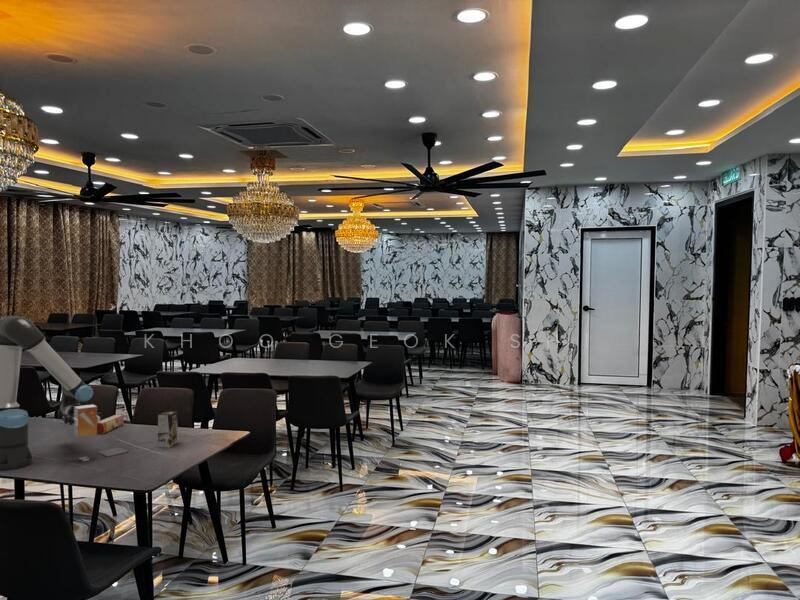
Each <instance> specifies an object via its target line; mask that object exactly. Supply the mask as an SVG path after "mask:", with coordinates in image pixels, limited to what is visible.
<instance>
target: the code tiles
mask: <svg viewBox="0 0 800 600" xmlns="http://www.w3.org/2000/svg"><path fill="white" fill-rule="evenodd" d="M87 457H88V456H82V457H79V458H78V460H80V461H83V462H86V461H90V460H89V458H90V457H89V458H87ZM86 458H87V459H86Z"/></svg>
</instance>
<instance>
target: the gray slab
mask: <svg viewBox="0 0 800 600" xmlns="http://www.w3.org/2000/svg"><path fill="white" fill-rule="evenodd" d="M96 452H97V454H98V453H99V454H98V455H101V456H103V455H104V457H105V456H106V458H110V457H109V456H111V457H114V456H113V455H116V456H119V455H118V454H120V455H123V454H122V453H124V454H127V453H126V452H130V451H129V450H127V449H125V448H121V447H120V446H119V447H115V448H110V449H106V450H104V449H103V450H100V451H96Z"/></svg>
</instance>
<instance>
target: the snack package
mask: <svg viewBox="0 0 800 600" xmlns="http://www.w3.org/2000/svg"><path fill="white" fill-rule="evenodd" d="M124 420H125V419H124V415H121V414H114V415H112V416H109V417H106V418H104V419H100V423H97V435H104V434H105V433H108V432H110V431H112V430H114V429H117V428H119V427H121V425H122V426H123V425H124V423H125V422H124ZM116 427H117V428H116Z"/></svg>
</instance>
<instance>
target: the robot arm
mask: <svg viewBox="0 0 800 600" xmlns="http://www.w3.org/2000/svg"><path fill="white" fill-rule="evenodd" d="M23 350H24V351H25V352H29V353H30V354H31V355H32V356H33V357H34V358H35V359H36V360H37V361H38V362H39V363H40V364H41V365H42V366H43V367H44V368H45V369H46V370H47V371H48V373H49V374H51V376H52V377H53V378H54V379H55V380H57V382H58V383H59V384H60V385H61V405H60V409H59V410H60V412H61V414H62V420H63V421H64V424H65V425H66V424H69V426H74V425H75V426H78V420H77V419H76V418H75V417H74V407H76V406H82V405H81V403H80V402H88V401H89V400H91V398H92V397H93V395H94V390H93V388H92V387H91V386H89V385H88V384H86V383H85V382H84V381H83V380H82V379H81V378H80V377H79V375H78V374H77V373H76V372H75V371H74V370H73V369H72V368H71V367H70V366H69V365H68V364H67V362H65V360H64V359H63V358H62V357H61V356H60V355H59V354H58V353H57V351H56V350H55V349H53V348H52V347H51V345H50V344H49V343H48V342H47V341H46V336H45V335H44V334H43V333H42V332H41V331H40V330H39V328H38V327H37V326H36V325H35V324H34V323H33V322H32V320H30V319H29V318H26V317H24V316H23V317H22V316H17V315H8V316H4V317H1V318H0V471H4V470H5V471H7V470H16V469H19V468H24V467H27V466H29V465H31V464H33V463H34V456H33V454H32V451H31V449H30V446H29V420H30V418H29V413H28V411H27V410H24V409H20V404H19V402H17V397H18V388H19V379H20V373H21V370H20V369H21V361H22V351H23ZM101 420H103V413H102V412H99V411H97V423H100V421H101Z"/></svg>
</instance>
